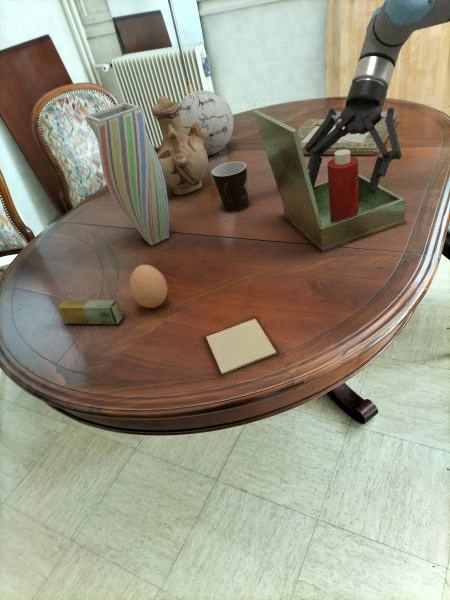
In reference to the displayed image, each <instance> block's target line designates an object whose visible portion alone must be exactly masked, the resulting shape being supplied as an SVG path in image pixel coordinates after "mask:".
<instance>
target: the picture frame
mask: <svg viewBox="0 0 450 600" xmlns="http://www.w3.org/2000/svg"><path fill="white" fill-rule="evenodd" d="M325 119H326V118H312V119H311V118H309V119H305V120H304V121H303V122H302V123H301V125H300V126H299V127H298V128H296V130H297V132H298V136H299V140H300V143H301V147H302V151H303V155H310V154H309V153H308V152H307V151H306V150H305V149H304V147H305V145H306V144H307V143H308V141H309V140H310V139H311V137H312V136H313V135H314V134H315V132H316V131H317V130H318V128H319V127H320V126H321V124H322V123H323V122H324V120H325ZM341 120H342V119H339V120H338V122H337V123H335V125H334V127H333V128H332V129H331V131H332V130H334V129H335V127H336V125H337V124H338V123H339V122H340V121H341ZM397 123H398V116H397V117H396V122H395V125H396V124H397ZM374 127H375V129H376V130H377V132H378V134H379V136H380V138H381V140H382V141H383V143H384V144H385V143H386V141H387V140H388V138H389V133H388V129H387V124H386V123H385V122H384V120H383V119H381V120H380V121H379V122H378V123H377V124H376V125H375V126H374ZM344 128H345V127H343V128H342V129H344ZM331 131H330V132H331ZM330 132H329V133H330ZM329 133H328V134H329ZM343 149H346V150H350V156H378V155H379V153H380V150H379V149H378V147H377V145H376V143H375V141H374V139H373V138H372V136H371V134H370V132H367V133H365V135H363V134H358V133H357V134H350V133H348V134H347V135H346V136H344V137H341V138H340V139H339V140H338V141H337V142H336V143H334V144H333V145H332V146H331V147H330V148H329V149H328V150H327V151H325V152H324V153H323V154H322V155H326V156H327V155H329V156H330V155H334V156H335V152H336V151H338V150H343Z"/></svg>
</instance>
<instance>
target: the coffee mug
mask: <svg viewBox="0 0 450 600" xmlns="http://www.w3.org/2000/svg"><path fill="white" fill-rule="evenodd" d="M247 173H248V171H247V164H246V163H245V162H243V161H229V162H225V163H222V164H220V165H217V166H215V167H214V168H213V169H212V170H211V175H212V178H213V181H214V183H215V187H216V190H217V192H218V195H219V197H220V201H221V203H222V207H223V208H224V211H226V212H230V213H236V212H240V211H242V210H245V209H246V208H247V207H249V189H248V174H247Z"/></svg>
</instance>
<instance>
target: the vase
mask: <svg viewBox="0 0 450 600" xmlns="http://www.w3.org/2000/svg"><path fill="white" fill-rule="evenodd" d="M84 120H85V121H86V122H87V124H88V126H89V127H90V129H91V130H92V132H93V134H94V136H95V138H96V140H97V144H98V150H99V156H100V163H101V169H102V174H103V177H104V180H105V183H106V185H107V189H108V190H109V193H110V194H111V196H112V198H113V200H114V201H115V203H116V205H117V207H118V208H119V209H120V211H121V212H122V213H123V214H124V216H125V217H126V218H127V219H128V221H129V222H130V223H131V224H132V225H133V227H134V228H135V229H136V231H138V232H139V234H140V235H141V237H142V238H143V240H144V241H146V242H147V243H148V244H149V246H153V245H156V244H158V243H160V242H161V241H164V240H167V239H169V238H170V229H169V227H170V221H169V220H170V219H169V218H170V217H169V216H170V215H169V198H168V192H167V187H166V185H165V180H164V176H163V172H162V169H161V166H160V163H159V160H158V157H157V155H156V153H155V150H154V148H153V146H154V145H153V144H152V142H151V141H150V139H149V136H148V135H147V127H146V119H145V111H144V108H143V107H141V106H140V105H136V104H133V103H129V102H126V101H125V102H121V103H118V104H116V105H112V106H110V107H107V108H104V109H101V110H99V111H95V112H92V113H90V114H86V115H85V117H84ZM152 145H153V146H152Z"/></svg>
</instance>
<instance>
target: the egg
mask: <svg viewBox="0 0 450 600" xmlns="http://www.w3.org/2000/svg"><path fill="white" fill-rule="evenodd" d="M129 289H130V294H131V296H132V297H133V299H134V301H135V302H136V303H137V304H138V305H140V306H142V307H144V308H148V309H154V308H157V307H159V306H161V305H162V304H163V303H164V302H165V301H166V298H167V295H168V283H167V280H166V278H165V277H164V275H163V274H162V273H161V271H159V270H158V269H157V268H156V267H154V266H152V265H149V264H141V265H138V266H137V267H135V268H134V270H133V271H132V272H131V275H130V280H129Z"/></svg>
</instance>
